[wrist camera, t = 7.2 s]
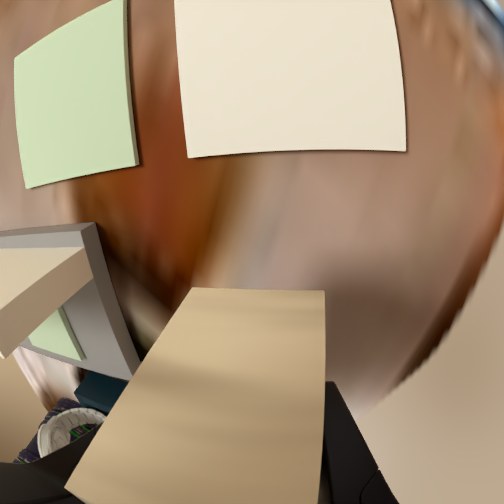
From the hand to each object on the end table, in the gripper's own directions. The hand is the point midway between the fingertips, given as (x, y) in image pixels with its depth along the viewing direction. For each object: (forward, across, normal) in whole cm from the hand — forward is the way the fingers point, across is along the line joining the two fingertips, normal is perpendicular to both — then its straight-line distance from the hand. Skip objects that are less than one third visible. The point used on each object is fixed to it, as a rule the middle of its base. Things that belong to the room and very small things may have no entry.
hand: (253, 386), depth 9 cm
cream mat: (+8, -1, -11) cm, 13 cm away
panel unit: (+8, +19, +3) cm, 21 cm away
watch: (+8, +16, +14) cm, 23 cm away
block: (+2, 0, 0) cm, 2 cm away
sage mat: (+8, +12, -11) cm, 18 cm away
